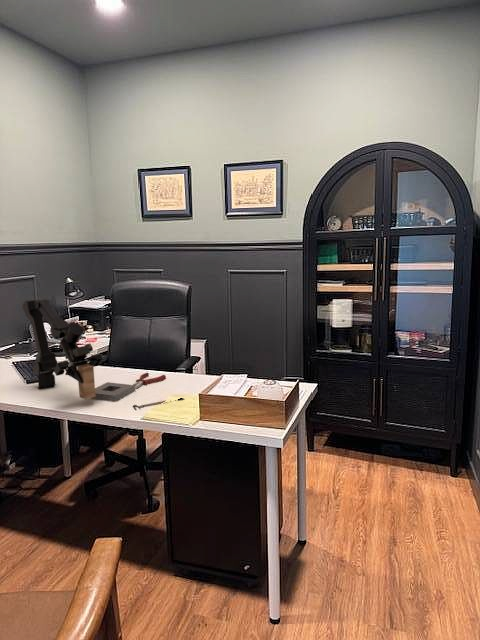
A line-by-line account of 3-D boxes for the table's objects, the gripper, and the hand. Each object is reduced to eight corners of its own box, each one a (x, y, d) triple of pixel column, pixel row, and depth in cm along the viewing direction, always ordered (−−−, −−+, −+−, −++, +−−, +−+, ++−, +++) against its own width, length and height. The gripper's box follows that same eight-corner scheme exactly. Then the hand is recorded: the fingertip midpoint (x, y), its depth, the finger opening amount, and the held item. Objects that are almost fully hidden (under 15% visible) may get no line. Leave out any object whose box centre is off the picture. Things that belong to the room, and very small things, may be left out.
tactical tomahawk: (136, 414, 172) (136, 412, 171) (132, 407, 177) (132, 405, 177) (188, 404, 181) (188, 401, 180) (183, 397, 186) (183, 395, 186)
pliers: (120, 389, 199) (119, 383, 199) (146, 376, 218) (146, 371, 217) (142, 392, 195) (141, 386, 194) (167, 379, 213) (166, 374, 213)
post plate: (87, 397, 188) (86, 392, 187) (107, 387, 201) (107, 382, 200) (115, 401, 183) (115, 395, 182) (135, 390, 196) (134, 385, 195)
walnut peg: (79, 397, 180) (77, 366, 178) (89, 394, 183) (87, 364, 181) (85, 399, 177) (83, 368, 175) (95, 396, 180) (93, 366, 178)
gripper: (55, 342, 172) (72, 375, 167) (99, 334, 186) (116, 365, 180) (47, 358, 178) (63, 391, 173) (90, 350, 192) (106, 380, 187)
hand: (88, 381), depth 178 cm, fingers closed on walnut peg, 4 cm apart
